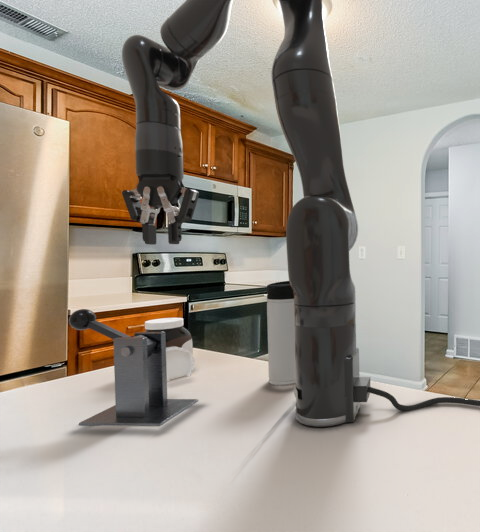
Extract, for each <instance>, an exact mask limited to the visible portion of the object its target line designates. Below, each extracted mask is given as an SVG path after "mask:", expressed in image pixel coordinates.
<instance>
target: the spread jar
mask: <svg viewBox="0 0 480 532" xmlns="http://www.w3.org/2000/svg"><path fill="white" fill-rule="evenodd" d="M184 323H185V322H184V318H183V317H162V318H155V319H154V318H153V319H149V320H146V321H144V330H145V331H144V332H165V337H166V369H167V383H171V382H170V380H173V379H177V378H181V377H184V376H186V377H190V376H192V374H193V372H194V370H195V363H196V362H195V358H194V351H193V350H194V349H193V347H194V346H193V345H194V344H193V337H192V334H191V332H190V331H189V330H188V329H187V328H185V327H184Z"/></svg>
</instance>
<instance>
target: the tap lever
mask: <svg viewBox="0 0 480 532" xmlns="http://www.w3.org/2000/svg"><path fill="white" fill-rule="evenodd" d="M68 324H69V326H70V327H71V328H72V329H74V330H77V331H86V330H88V329H90V330H92V331H94V332H96V333H99V334H101V335H103V336H105V337H107V338H110V339H111V340H113V339H115V338H119V337H131V336H130V335H128V334H126V333H123V332H121V331H120V330H117V329H115V328H113V327H112V326H109V325H107V324H105V323H103V322H100V321H98V320H97V315H96V313H95V312H94V311H92V310H91V309H87V308H81V309H80V308H79V309H77V310H75V311H73V312H71V314H70V316H69V317H68ZM135 337H145V336H143V335H138V336H135ZM156 343H157V342H155V341H153V340H151V339H149V338H147V356H148V357H149V356H151V355H152V352H153V350H154V347H155V345H156Z"/></svg>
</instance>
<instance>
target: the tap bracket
mask: <svg viewBox="0 0 480 532" xmlns="http://www.w3.org/2000/svg"><path fill="white" fill-rule="evenodd" d="M138 335H143V336H145V337H135V336H138ZM147 338H149V339H151V340H153V341H155V342H157V343H156V345H155V347H154V350H153V352H152V355H151V356H149V357H148V356H147ZM112 341H113V367H114V369H113V371H114V373H113V374H114V399H115V400H114V402H115V405H113V406H111V407H109V408H106V409H104V410H102V411H101V412H98V413H95V414H94V415H92V416H90V417H87V418H86V419H84V420H81V421H80V422H78V426H125V427H126V426H129V427H130V426H133V427H139V426H141V427H161V426H163V425H164V424H165V423H167V422H169V421H170V420H172V419H173V418H175V417H176V416H178V415H179V414H181V413H182V412H184V411H185V410H187V409H189V408H190V407H192V406H193V405H195V404H196V403H198V402H199V399H198V398H168V382H167V369H166V337H165V332H145V331H138V332H137V331H136V332H134V334H133V336H130V337H119V338H115V339H112Z"/></svg>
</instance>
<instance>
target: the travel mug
mask: <svg viewBox="0 0 480 532" xmlns="http://www.w3.org/2000/svg"><path fill="white" fill-rule="evenodd" d="M266 294H267V295H266V320H267V321H266V323H267V325H266V326H267V351H268V352H267V361H268V366H267V367H268V384H269V385H270V386H276V387H286V386H287V387H288V386H294V385H296V371H295V323H294V294H293V291H292V288H291V286H290V283H289V280H284V281H278V282H277V281H276V282H273V283H269V284H267V285H266Z"/></svg>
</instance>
